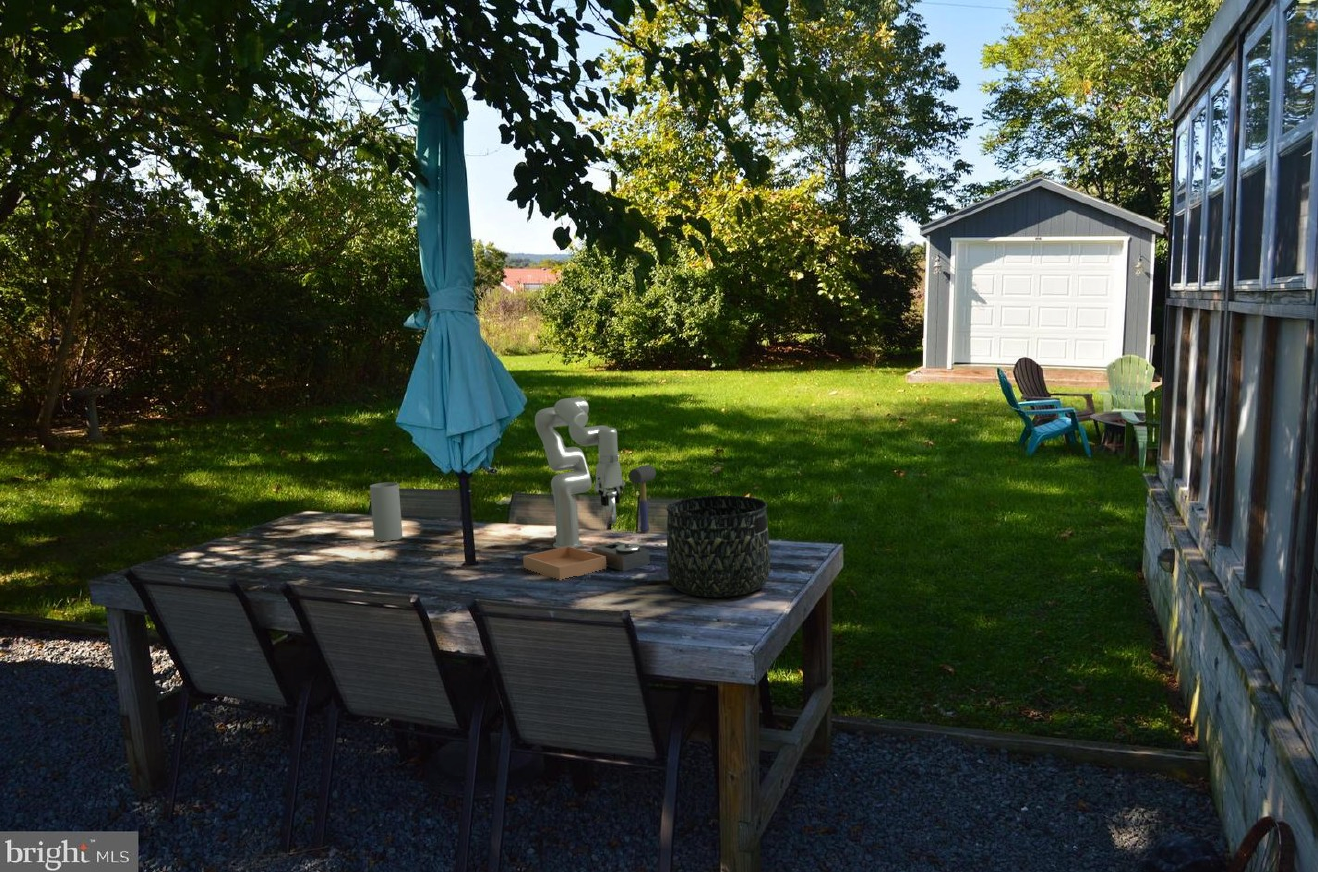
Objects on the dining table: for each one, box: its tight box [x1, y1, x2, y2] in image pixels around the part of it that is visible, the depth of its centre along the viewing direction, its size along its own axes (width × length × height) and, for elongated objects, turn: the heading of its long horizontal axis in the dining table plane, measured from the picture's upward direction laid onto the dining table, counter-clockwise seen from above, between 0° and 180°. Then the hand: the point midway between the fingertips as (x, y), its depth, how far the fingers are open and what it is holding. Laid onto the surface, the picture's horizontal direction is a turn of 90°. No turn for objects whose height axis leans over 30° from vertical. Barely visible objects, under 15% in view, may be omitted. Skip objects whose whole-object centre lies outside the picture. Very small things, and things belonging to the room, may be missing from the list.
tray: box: [522, 546, 607, 581], centre depth 400 cm, size 26×22×5 cm
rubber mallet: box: [628, 464, 657, 534], centre depth 455 cm, size 12×8×30 cm, turn 146°
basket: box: [665, 495, 771, 598], centre depth 365 cm, size 37×37×30 cm
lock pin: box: [605, 489, 617, 525], centre depth 406 cm, size 5×5×12 cm
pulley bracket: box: [591, 541, 650, 572], centre depth 404 cm, size 20×13×8 cm, turn 39°
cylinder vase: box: [369, 481, 403, 542], centre depth 462 cm, size 12×12×25 cm
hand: (610, 503), depth 406 cm, fingers closed on lock pin, 5 cm apart
